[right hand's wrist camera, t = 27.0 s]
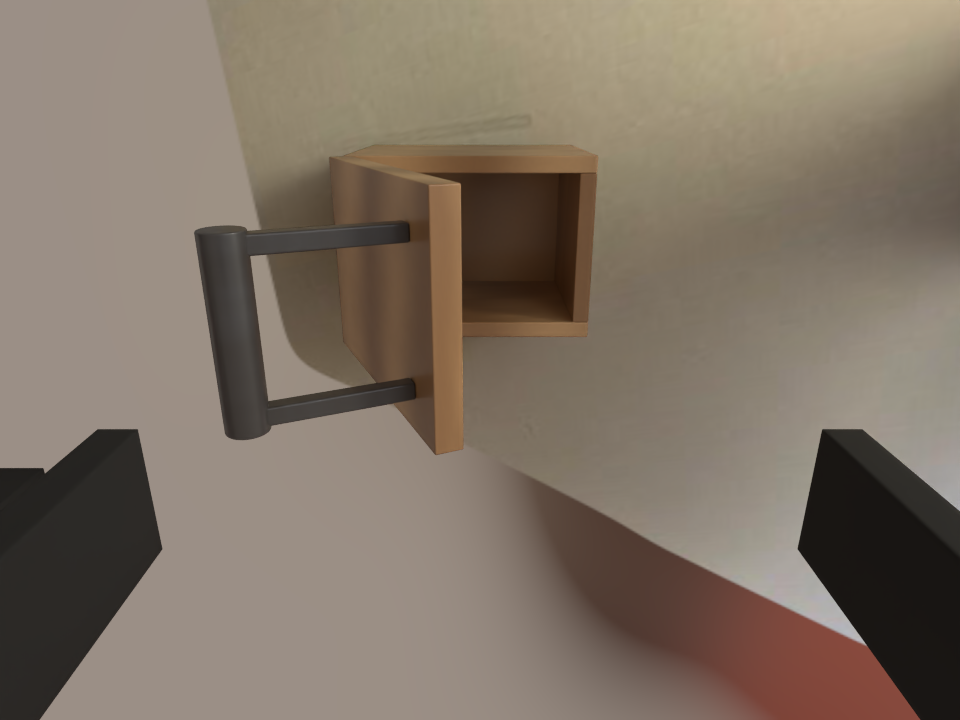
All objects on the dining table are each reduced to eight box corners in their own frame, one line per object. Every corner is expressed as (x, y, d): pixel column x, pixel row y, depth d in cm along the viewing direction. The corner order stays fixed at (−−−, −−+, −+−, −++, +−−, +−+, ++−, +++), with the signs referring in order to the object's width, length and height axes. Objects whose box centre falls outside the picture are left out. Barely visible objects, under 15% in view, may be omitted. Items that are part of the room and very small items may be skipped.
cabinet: (571, 144, 43) (598, 155, 33) (565, 290, 46) (587, 337, 37) (373, 144, 43) (342, 155, 33) (381, 289, 46) (355, 337, 37)
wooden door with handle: (461, 182, 21) (190, 195, 18) (464, 449, 25) (237, 499, 21) (351, 156, 33) (175, 161, 30) (363, 339, 36) (207, 361, 33)
